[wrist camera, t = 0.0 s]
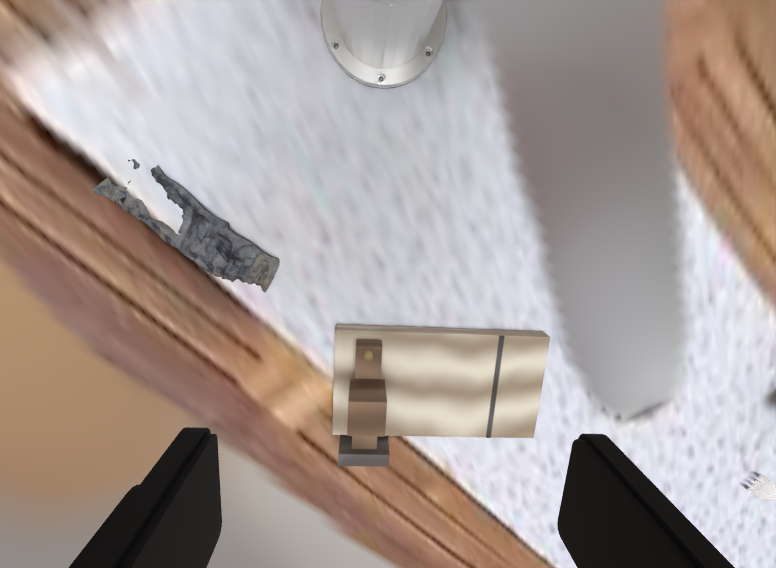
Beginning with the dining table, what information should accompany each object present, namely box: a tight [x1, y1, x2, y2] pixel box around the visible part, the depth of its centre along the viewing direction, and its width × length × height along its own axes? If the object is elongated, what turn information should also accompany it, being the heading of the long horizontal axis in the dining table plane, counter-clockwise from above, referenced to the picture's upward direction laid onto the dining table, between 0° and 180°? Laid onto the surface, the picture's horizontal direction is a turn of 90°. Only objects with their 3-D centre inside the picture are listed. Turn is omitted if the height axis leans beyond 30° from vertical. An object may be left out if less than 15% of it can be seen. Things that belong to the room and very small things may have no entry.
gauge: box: [338, 340, 389, 466], centre depth 45 cm, size 15×6×9 cm, turn 177°
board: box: [332, 324, 550, 438], centre depth 49 cm, size 14×26×2 cm, turn 87°
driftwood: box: [94, 159, 279, 292], centre depth 44 cm, size 21×7×2 cm, turn 49°
